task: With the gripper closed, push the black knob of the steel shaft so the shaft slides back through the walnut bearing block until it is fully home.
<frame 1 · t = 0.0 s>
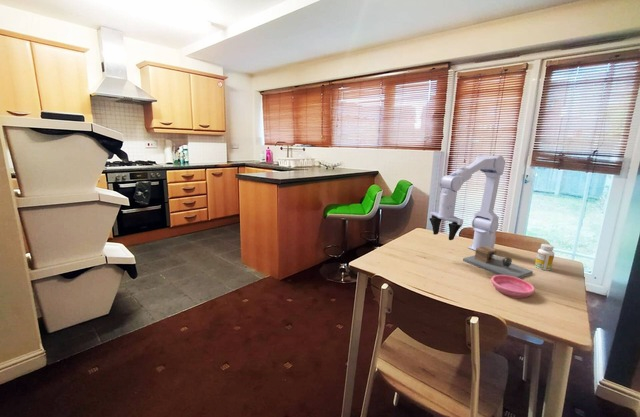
hand: (443, 236, 121), 10 cm above the table, tool pointing down, fingers open, 7 cm apart
supplement bottle: (542, 268, 118), on the table
bearing block: (484, 262, 121), resting on base board
shaft: (495, 257, 117), point 4 cm above the table, slide at 5.0 cm
saucer: (510, 291, 98), on the table
base board: (495, 266, 117), on the table
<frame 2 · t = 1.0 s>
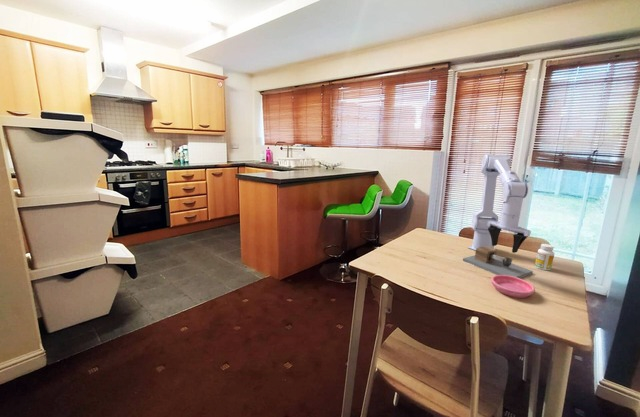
hand: (504, 248, 110), 10 cm above the table, tool pointing down, fingers open, 7 cm apart
nothing on the table moved.
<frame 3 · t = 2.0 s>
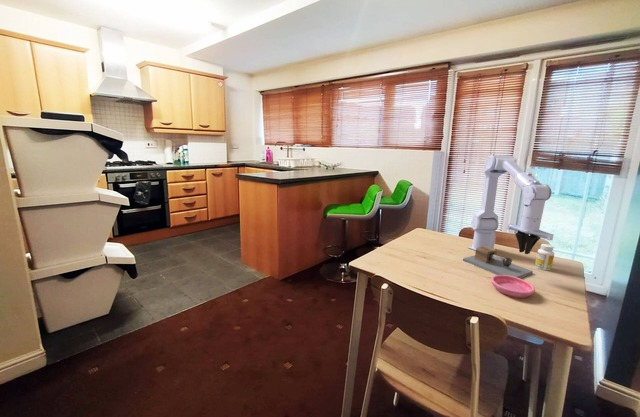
hand: (524, 252, 107), 9 cm above the table, tool pointing down, fingers closed
nothing on the table moved.
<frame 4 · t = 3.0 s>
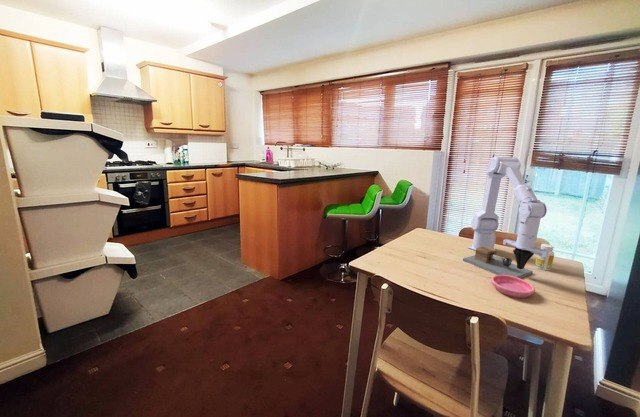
hand: (520, 268, 109), 3 cm above the table, tool pointing down, fingers closed
nothing on the table moved.
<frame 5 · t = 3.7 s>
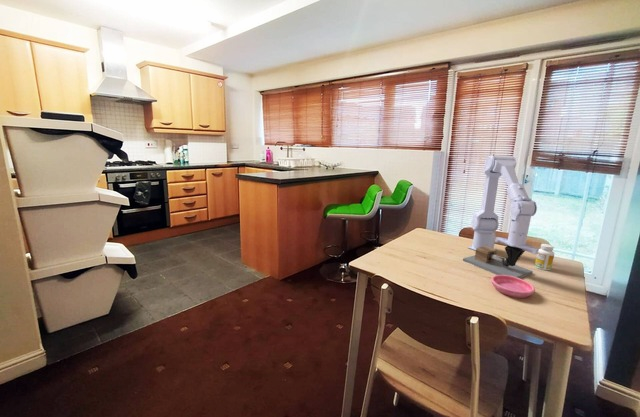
hand: (511, 265, 112), 3 cm above the table, tool pointing down, fingers closed
shaft: (495, 257, 117), point 4 cm above the table, slide at 4.8 cm, touching gripper
everything else where it was.
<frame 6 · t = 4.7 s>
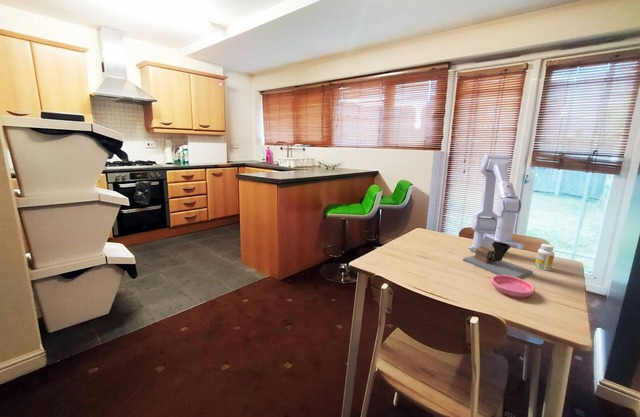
hand: (498, 260, 116), 3 cm above the table, tool pointing down, fingers closed
shaft: (483, 253, 121), point 4 cm above the table, slide at -0.1 cm, touching gripper
everything else where it was.
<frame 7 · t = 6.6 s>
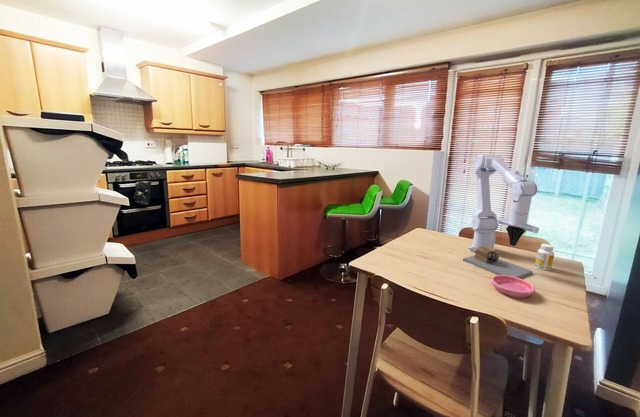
hand: (512, 245, 116), 9 cm above the table, tool pointing down, fingers closed
shaft: (483, 253, 121), point 4 cm above the table, slide at 0.0 cm
everything else where it was.
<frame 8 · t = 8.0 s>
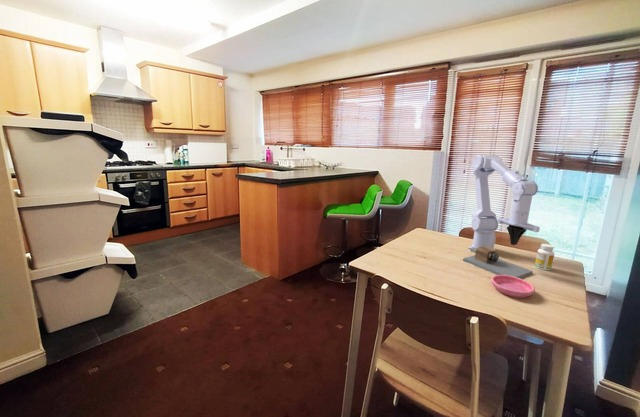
hand: (513, 244, 116), 9 cm above the table, tool pointing down, fingers closed
nothing on the table moved.
at the end: shaft slide at 0.0 cm; the gripper is holding nothing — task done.
